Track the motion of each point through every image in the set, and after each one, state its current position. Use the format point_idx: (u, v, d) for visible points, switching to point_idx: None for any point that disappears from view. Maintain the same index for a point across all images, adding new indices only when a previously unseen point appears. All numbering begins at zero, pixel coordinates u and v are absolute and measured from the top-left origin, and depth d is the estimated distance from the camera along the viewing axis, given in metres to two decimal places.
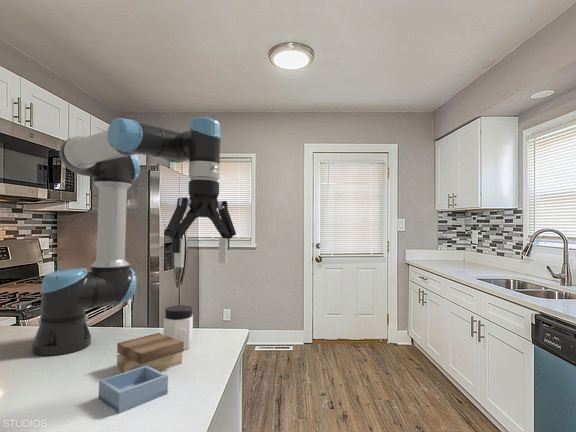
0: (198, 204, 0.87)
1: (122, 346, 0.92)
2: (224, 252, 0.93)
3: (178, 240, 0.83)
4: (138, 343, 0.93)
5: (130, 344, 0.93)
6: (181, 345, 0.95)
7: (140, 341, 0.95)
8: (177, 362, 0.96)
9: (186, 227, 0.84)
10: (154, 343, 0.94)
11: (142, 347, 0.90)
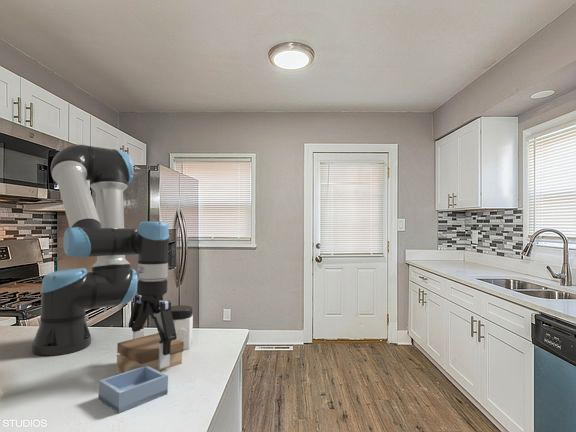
0: None
1: (122, 346, 0.92)
2: None
3: None
4: (138, 343, 0.93)
5: (130, 344, 0.93)
6: (181, 345, 0.95)
7: (140, 341, 0.95)
8: (177, 362, 0.96)
9: (136, 322, 0.97)
10: (154, 343, 0.94)
11: (142, 347, 0.90)
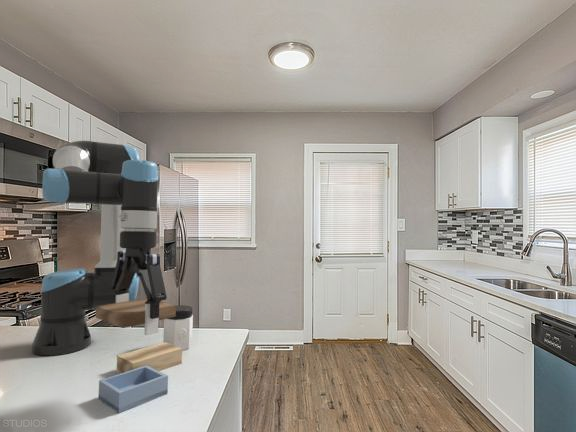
0: None
1: (101, 309, 0.76)
2: None
3: (117, 295, 0.82)
4: (120, 306, 0.77)
5: (111, 307, 0.77)
6: (173, 309, 0.79)
7: (123, 305, 0.79)
8: (177, 362, 0.96)
9: (119, 282, 0.81)
10: (140, 306, 0.78)
11: (125, 309, 0.75)
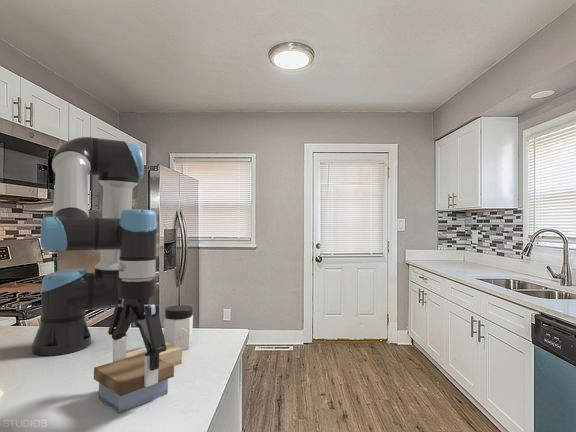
0: (125, 306, 0.79)
1: (99, 372, 0.76)
2: None
3: None
4: (118, 368, 0.77)
5: (109, 369, 0.76)
6: (171, 369, 0.79)
7: (121, 365, 0.79)
8: (177, 362, 0.96)
9: (117, 329, 0.81)
10: (139, 367, 0.78)
11: (123, 373, 0.74)
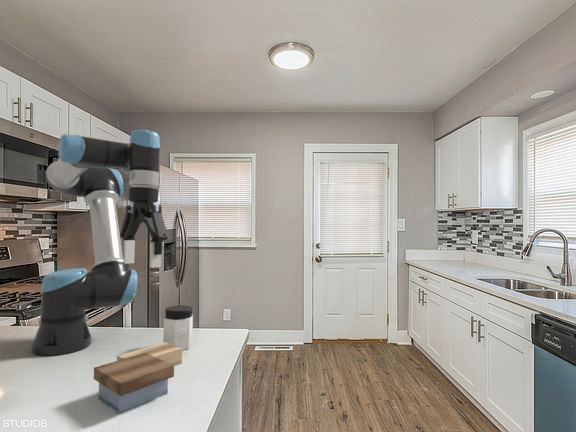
0: None
1: (99, 372, 0.76)
2: None
3: None
4: (118, 368, 0.77)
5: (109, 369, 0.76)
6: (171, 369, 0.79)
7: (121, 365, 0.79)
8: (177, 362, 0.96)
9: (127, 230, 0.99)
10: (139, 367, 0.78)
11: (123, 373, 0.74)
